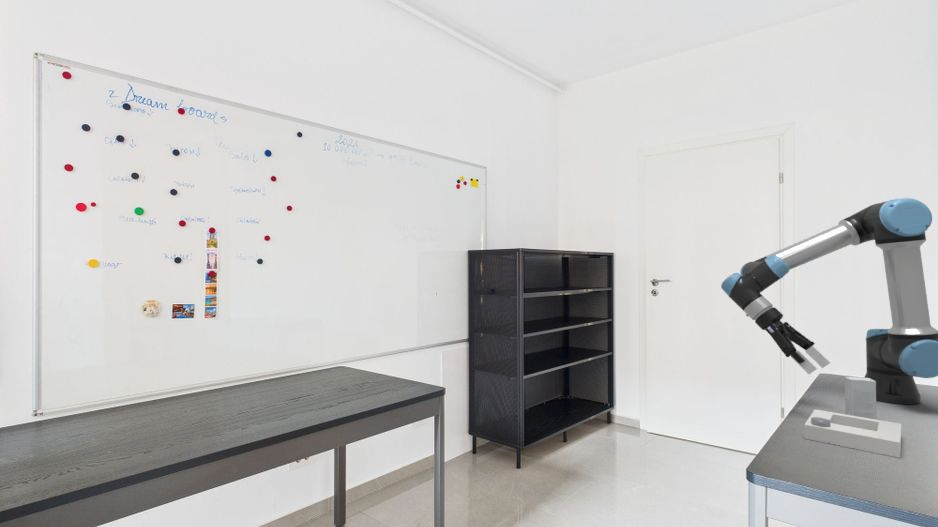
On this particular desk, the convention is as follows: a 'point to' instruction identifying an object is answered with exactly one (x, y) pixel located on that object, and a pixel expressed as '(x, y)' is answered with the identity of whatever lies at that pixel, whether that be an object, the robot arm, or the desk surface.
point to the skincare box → (860, 397)
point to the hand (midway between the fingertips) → (820, 368)
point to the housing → (854, 432)
